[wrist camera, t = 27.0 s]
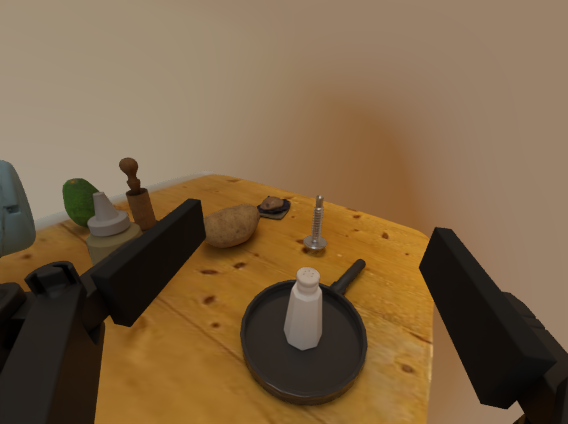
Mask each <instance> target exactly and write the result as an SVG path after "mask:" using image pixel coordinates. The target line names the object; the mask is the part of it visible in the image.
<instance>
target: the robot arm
mask: <svg viewBox="0 0 568 424" xmlns="http://www.w3.org/2000/svg"><path fill="white" fill-rule="evenodd" d="M35 238H36V231H35V225H34V220H33V216H32V213H31V209H30V206H29V203H28V200H27V197H26V194H25V191H24V188H23V186H22V183H21V181H20V179H19V176H18V174H17V172H16V170H15V169H14V167H13V166H12V165H11V164H10V163H9V162H6V161H3V160H2V161H1V160H0V258H1V257H2V256H5V255H9V254H12V253H15V252H18V251H22V250H25V249H27V248H28V247H30V246H31V245H32V244H33V243H34V241H35ZM205 239H206V231H205V224H204V218H203V212H202V206H201V200H198V199H188V200H186V201H185V202H184V203H182V204H181V205H180V206H178V207H177V208H176V209H175V210H173V211H172V212H171V213H169V214H168V215H167V216H166V217H164V218H163V219H162V220H160V221H159V222H158V223H156V224H155V225H154V226H153V227H151V228H150V229H149V230H147V231H146V232H145V233H144V234H142V235H141V236H140V237H138V238H137V237H136V238H134V239H132V240H130V241H127V242H125V243H124V244H122V245H121V246H120V247H118V248H117V249H116V250H115V251H113V252H112V253H110V254H109V255H108V257H105V258H104V259H102V260H101V261H100V262H98V263H97V264H96V265H94V266H93V267H92V268H90V269H89V270H88V271H86V272H85V273H84V274H82V275H81V276H80V277H79V275H78V273H77V271H76V269H75V267H74V266H73V264H72V263H71V262H69V261H59V262H53V263H50V264H47V265H44V266H42V267H40V268H38V269H36V270H34V271H33V272H31V273H30V274H28V276H27V277H26V278H25V279H24V281H25V282H26V283H27V285H28V286H29V288H30V289H31V291H30V292H24V291H23V289H22V288H21V287H20V285H19V284H17V283H4V284H0V424H94V420H95V412H96V403H97V394H98V386H99V377H100V369H101V360H102V351H103V343H104V334H105V323H104V320H105V319H106V318H107V317H108V316H109V315H110V316H111V318H112V320H113V322H114V324H118V325H123V326H127V327H131V326H132V325H133V324H134V322H135V321H136V320H137V319H138V318H139V316H140V315H141V314H142V313H143V312H144V311H145V309H146V308H147V307H148V306H149V305H150V303H151V302H152V301H153V300H154V299H155V298H156V296H157V295H158V294H159V293H160V292H161V290H162V289H163V288H164V287H165V286H166V285H167V283H168V282H169V281H170V280H171V279H172V278H173V276H174V275H175V274H176V273H177V272H178V270H179V269H180V268H181V267H182V266H183V265H184V263H185V262H186V261H187V260H188V259H189V257H190V256H191V255H192V254H193V253H194V252H195V250H196V249H197V248H198V247H199V246H200V244H201V243H202V242H203V241H204V240H205ZM419 269H420V271H421V274H422V276H423V278H424V280H425V282H426V285H427V287H428V289H429V291H430V293H431V296H432V298H433V300H434V302H435V304H436V307H437V309H438V311H439V313H440V315H441V317H442V320H443V322H444V324H445V326H446V329H447V331H448V333H449V335H450V337H451V339H452V342H453V344H454V346H455V348H456V350H457V352H458V355H459V357H460V359H461V361H462V364H463V366H464V368H465V370H466V372H467V375H468V377H469V379H470V381H471V383H472V385H473V388H474V390H475V392H476V394H477V397H478V399H479V401H480V403H481V404H484V405H489V406H493V407H498V408H502V409H508V408H509V407H510V406H511V405H512V404H513V403H514V402H516V401H518V403H519V405H520V406H521V408H522V410H523V411H524V414H523V415H522V416H521V417H520V418H519V419H518V420H516V421H515V422H514V423H513V424H568V353H567V352H566V351H565V350H564V349H563V348H562V347H561V345H560V344H559V343H558V342H557V341H556V340H555V339H554V337H553V336H552V335H551V334H550V333H549V332H548V330H545V327H544V326H543V325H542V323H541V322H540V321H539V320H538V319H536V317H535V315H534V314H533V313H532V312H531V311H530V309H529V308H528V307H527V306H526V305H525V304H524V303H523V302H521V301H520V300H519V299H517V298H516V297H515V296H513V295H512V294H511V293H508V292H501V290H500V289H499V288H498V287H497V285H496V284H495V283H494V282H493V280H492V279H491V278H490V277H489V275H488V274H487V273H486V272H485V270H484V269H483V268H482V267H481V265H480V264H479V263H478V262H477V260H476V259H475V258H474V257H473V256H472V254H471V253H470V252H469V251H468V249H467V248H466V247H465V246H464V244H463V243H462V242H461V241H460V239H459V238H458V237H457V236H456V234H455V233H454V232H453V231H452V229H447V228H438V227H435V229H434V231H433V234H432V236H431V239H430V241H429V243H428V246H427V248H426V251H425V253H424V256H423V258H422V261H421V263H420V266H419Z"/></svg>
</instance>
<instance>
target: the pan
mask: <svg viewBox="0 0 568 424" xmlns="http://www.w3.org/2000/svg"><path fill="white" fill-rule="evenodd" d="M296 282H297V280H287V281H283V282H278V283H276V284H274V285H271V286H269V287H267V288H265V289H264V290H263V291H262V292H260V293H259V294H258V295H256V296H255V298H254V299H253V300H252V301H251V303H250V304H249V305H248V307H247V309H246V311H245V314H244V316H243V318H242V324H241V332H240V337H241V345H242V351H243V357H244V360H245V362H246V365H247V367H248V369H249V371H250V373H251V374H252V376H253V377H254V378H255V380H256V381H257V382H258V383H259V384H260V385H261V386H262V387H263V388H264V389H265V390H266V391H267V392H269V393H270V394H272V395H273V396H275V397H277V398H279V399H281V400H283V401H286V402H289V403H292V404H297V405H309V406H312V405H320V404H324V403H327V402H330V401H332V400H334V399H336V398H338V397H340V396H341V395H343V394H344V393H345V392H347V391H348V389H349V388H350V387H351V386H352V385H353V384H354V382H355V381H356V379H357V378H358V376H359V374H360V372H361V370H362V368H363V365H364V362H365V357H366V351H367V336H366V329H365V327H364V324H363V322H362V319H361V316H360V315H359V313H358V312H357V310H356V309H355V308H354V306H353V305H352V303H351V302H349V301H348V300H347V299H346V298H345V297H344V296H343V295H342V294H340V293H336V294H337V295H339V299H337V298H334V296H333V295H332V296H331V295H330V294H328V289H329V286H326V285H324V284H321V283H319V287H320V289H321V291H322V335H321V337H320V340H319V342H318V344H317V346H316V347H313V348H309V349H306V350H303V351H302V350H300V349H298V348H296V347H294V346H292V345H291V344H289V343H288V342H287V338H286V335H285V332H284V325H285V320H286V315H287V310H288V305H289V300H290V295H291V291H292V288H293V286H294V285H295V283H296ZM329 290H331V289H329ZM331 291H332V290H331ZM335 297H336V296H335Z"/></svg>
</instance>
